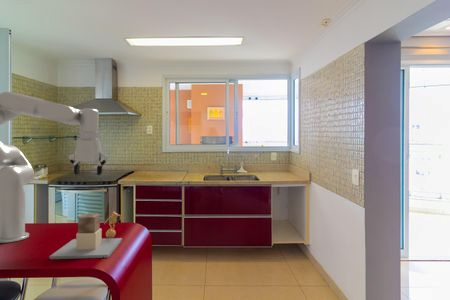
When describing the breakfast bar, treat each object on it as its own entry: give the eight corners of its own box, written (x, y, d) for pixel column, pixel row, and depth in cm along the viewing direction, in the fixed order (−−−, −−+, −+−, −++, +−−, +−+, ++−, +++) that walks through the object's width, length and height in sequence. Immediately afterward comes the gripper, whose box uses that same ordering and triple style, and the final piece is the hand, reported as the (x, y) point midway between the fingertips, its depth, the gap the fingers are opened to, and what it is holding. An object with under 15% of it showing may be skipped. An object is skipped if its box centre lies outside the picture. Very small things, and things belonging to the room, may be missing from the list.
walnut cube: (78, 233, 111) (78, 217, 111) (84, 229, 117) (84, 214, 117) (94, 232, 111) (94, 217, 111) (99, 228, 117) (99, 213, 117)
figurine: (115, 235, 132) (116, 208, 133) (124, 237, 129) (124, 210, 129) (99, 239, 125) (99, 211, 126) (108, 242, 122) (108, 213, 122)
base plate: (49, 259, 103) (49, 239, 103) (73, 241, 123) (73, 224, 123) (108, 257, 105) (108, 238, 105) (122, 240, 125) (122, 224, 125)
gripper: (65, 135, 127) (64, 175, 127) (105, 136, 128) (104, 175, 128) (73, 136, 134) (72, 173, 134) (111, 137, 135) (110, 174, 135)
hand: (88, 174), depth 131 cm, fingers open, 9 cm apart
